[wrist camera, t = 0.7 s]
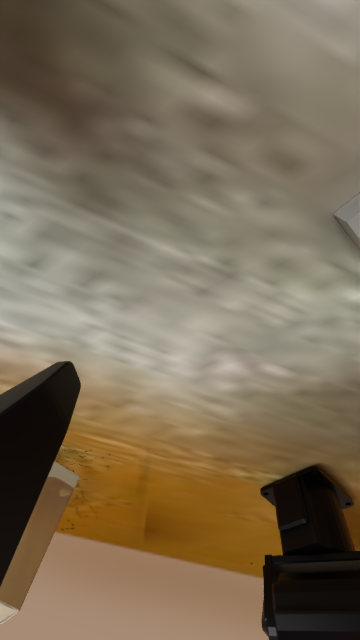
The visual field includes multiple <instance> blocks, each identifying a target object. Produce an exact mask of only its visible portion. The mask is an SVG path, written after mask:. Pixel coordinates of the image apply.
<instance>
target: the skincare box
mask: <svg viewBox="0 0 360 640" xmlns="http://www.w3.org/2000/svg"><path fill="white" fill-rule="evenodd" d="M78 479H79V476H78V475H77V474H75V473H73V472H72V471H70V470H68V469H67V468H65V467H63V466H62V465H60V464H58V463H57V462H55V461H54V463H53V466H52V468H51V470H50V473H49V475H48V477H47V480H46V482H45V484H44V487H43V489H42V491H41V494H40V496H39V498H38V501H37V503H36V505H35V508H34V510H33V512H32V515H31V517H30V519H29V522H28V524H27V526H26V529H25V531H24V533H23V536H22V538H21V540H20V543H19V545H18V547H17V550H16V552H15V554H14V557H13V559H12V561H11V564H10V566H9V568H8V571H7V573H6V575H5V578H4V580H3V582H2V585H1V587H0V624H2V623H3V622H5V621H6V620H8V619H9V618H11V617H12V616H14V615H15V614H16V613H18V612H19V611H20V608H21V606H22V604H23V602H24V600H25V597H26V595H27V593H28V591H29V588H30V586H31V584H32V582H33V579H34V577H35V575H36V573H37V570H38V568H39V566H40V563H41V561H42V559H43V557H44V555H45V552H46V550H47V548H48V546H49V544H50V541H51V539H52V537H53V535H54V532H55V530H56V528H57V526H58V523H59V521H60V519H61V517H62V514H63V512H64V510H65V508H66V505H67V503H68V501H69V499H70V497H71V495H72V492H73V490H74V488H75V486H76V483H77V481H78Z"/></svg>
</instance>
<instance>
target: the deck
mask: <svg viewBox="0 0 360 640" xmlns="http://www.w3.org/2000/svg"><path fill="white" fill-rule="evenodd" d="M333 215H334V216H335V218H336V219H337V220H338V221H339V223H340V224H341V225H342V227H343V228H344V229H345V231H346V232H347V233H348V235H349V236H350V237H351V239H352V240H353V241H354V242H355V244H356V245H357V246H358V248H359V249H360V193H359V194H358V195H356V196H355V197H354V198H353V199H351V200H350V201H349V202H347V203H346V204H345V205H344V206H342V207H341V208H340V209H339V210H337V211H336V212H335V213H334V214H333Z"/></svg>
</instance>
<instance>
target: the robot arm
mask: <svg viewBox="0 0 360 640" xmlns="http://www.w3.org/2000/svg"><path fill="white" fill-rule="evenodd" d="M80 388H81V383H80V380H79V377H78V375H77V372H76V370H75V367H74V365H73V363H72V362H70V361H63V362H57V363H55V364H53V365H52V366H50V367H48V368H46V369H45V370H43V371H41V372H39V373H38V374H36V375H34V376H32V377H31V378H29V379H27V380H25V381H24V382H22V383H20V384H18V385H17V386H15V387H13V388H11V389H10V390H8V391H6V392H4V393H3V394H1V395H0V587H1V585H2V582H3V580H4V578H5V575H6V573H7V571H8V568H9V566H10V564H11V561H12V559H13V557H14V554H15V552H16V550H17V547H18V545H19V543H20V540H21V538H22V536H23V533H24V531H25V529H26V526H27V524H28V522H29V519H30V517H31V515H32V512H33V510H34V508H35V505H36V503H37V501H38V498H39V496H40V494H41V491H42V489H43V487H44V484H45V482H46V480H47V477H48V475H49V473H50V470H51V468H52V466H53V463H54V461H55V459H56V456H57V454H58V452H59V449H60V447H61V445H62V442H63V440H64V438H65V435H66V433H67V430H68V427H69V424H70V421H71V418H72V414H73V411H74V408H75V405H76V402H77V398H78V395H79V392H80ZM260 490H261V495H262V496H263V497H264V498H265V499H267V500H268V501H269V502H270V503H272V504H273V505H274V506H275V508H276V515H277V522H278V528H279V530H280V537H281V544H282V551H283V555H278V556H272V555H265V565H264V566H263V576H264V602H263V612H262V628H263V631H264V632H265V633H266V635H267V636H268V637H269V640H360V551H355V548H354V545H353V542H352V539H351V536H350V533H349V529H348V526H347V523H346V520H345V517H344V514H343V511H342V509H345V508H348V507H351V506H353V505H354V502H353V500H352V498H351V497H350V496H349V495H348V494H347V493H346V492H345V491H343V490H342V489H341V488H340V487H339V486H338V485H337V484H336V483H335V482H334V481H333V480H332V479H330V478H329V477H328V476H327V475H326V474H325V473H324V472H323V471H322V470H321V469H320V468H318V467H317V466H311V467H308V468H306V469H304V470H302V471H299V472H297V473H295V474H292V475H290V476H288V477H285V478H283V479H281V480H278V481H276V482H274V483H271V484H269V485H267V486H264V487H262V488H261V489H260Z"/></svg>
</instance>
